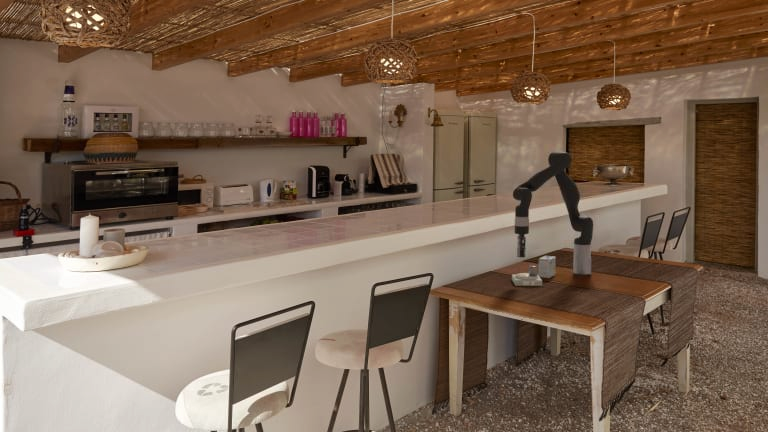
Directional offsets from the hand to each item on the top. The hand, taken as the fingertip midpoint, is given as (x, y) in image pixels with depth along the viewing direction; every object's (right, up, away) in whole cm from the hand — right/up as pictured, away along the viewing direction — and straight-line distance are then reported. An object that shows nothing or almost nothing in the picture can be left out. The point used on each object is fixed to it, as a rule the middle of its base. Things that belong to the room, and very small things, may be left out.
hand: (521, 256), depth 318 cm
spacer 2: (+6, -11, +1) cm, 12 cm away
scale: (+3, -15, +1) cm, 15 cm away
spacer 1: (0, 0, 0) cm, 0 cm away
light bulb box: (+19, -13, +18) cm, 29 cm away
